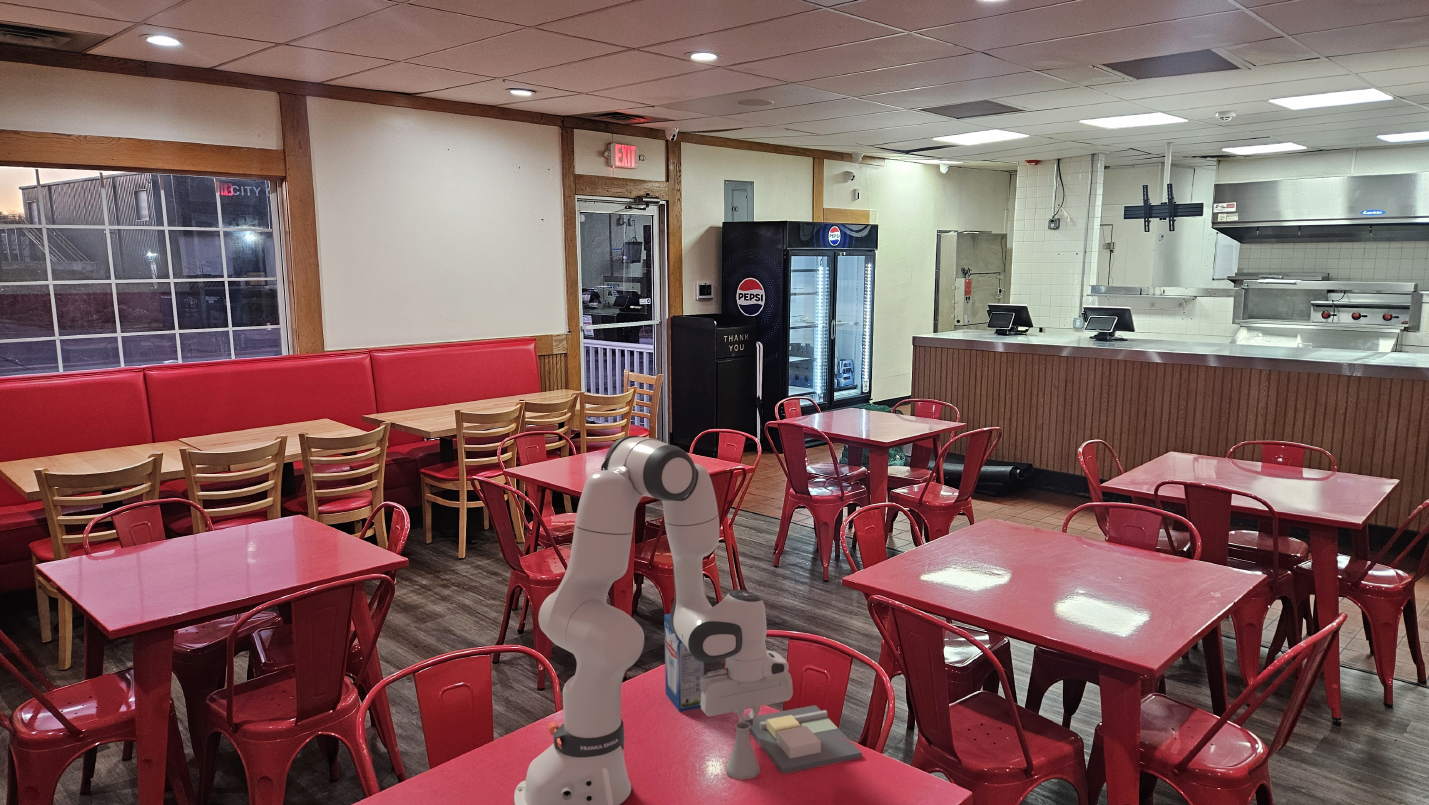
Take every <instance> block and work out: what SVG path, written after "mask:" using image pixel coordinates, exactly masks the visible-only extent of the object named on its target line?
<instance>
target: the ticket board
mask: <svg viewBox="0 0 1429 805" xmlns="http://www.w3.org/2000/svg"><path fill="white" fill-rule="evenodd" d="M788 715H792V716H793V717H794V718H795V719H796V720H797V721H798V722H799V724H800V725H801V727H797V728H792V729H787V730H782V731H777V737H776V739H775V738H774V737H773V735H772V734H771V733H770V732H769V730H768V729H767V719H772V718H777V717H783V716H788ZM749 734H751V736H752V737H753V738H754V740H756V742H757V744H759V746H760V747H761V749H762V750H763V751H764V752H765V754H766V755H767V756H768V758H769V759H770V760H771V762H772V763H773V764H774V765H775V767H776V768H777V769H778V770H779V772H780V773H781V775H785V774H791V773H795V772H800V771H803V770H804V771H806V770H811V769H814V768H819V767H820V768H821V767H824V766H829V765H834V764H838V763H839V764H840V763H843V762H848V761H852V760H858V759H862V757H863V756H862V754H863V753H862V751H861V750H860V749H859V748H858V747H857V746H856V745H855V744H854V742H852V743H850V741H851V740H850V739H849V738H848V737H847V736H846V734H845V733H844V732H843V731H842V730H840V729H839V727H837V725H835V723H834V722H833V721H832V720H831V719H830V718H829V717H828V711H827V710H826V709H824V710H821V708H819V707H818V706H817V705H815V704H814V705H810V706H804V707H798V708H792V709H787V710H782V711H777V712H771V713H770V712H769V713H765V714H760V715H757V717H756V718H755V725H754V726H751V728H750V729H749ZM839 737H840V738H841V739H840V738H839ZM843 739H845V740H843ZM847 740H848V741H847Z"/></svg>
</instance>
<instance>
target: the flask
mask: <svg viewBox="0 0 1429 805" xmlns="http://www.w3.org/2000/svg"><path fill="white" fill-rule="evenodd" d="M734 727H735V730H736V732H735V733H736V734H735V740H734V744H733V747H732V749H731V752H730V755H729V757H728V760H727V763H726V765H725V771H726V776H728V777H732V778H733V779H737V780H749V779H755V778H756V777H757V776H758V775H759V774H760V773H761V772H762V771H761V769H760V768H761V767H760V766H759V762H758V759H757V756H756V754H755V752H754V748H753V746H752V742H751V736H750V732H749V729H750V728H751V726H750V723H748V722H745V721H741V722H740V721H737V722H735V724H734Z"/></svg>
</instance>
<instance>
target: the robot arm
mask: <svg viewBox="0 0 1429 805" xmlns="http://www.w3.org/2000/svg"><path fill="white" fill-rule="evenodd" d="M600 466H601V467H600V470H598V471H596V472H594V473H592V474H590V475H589V477H587V478H586V481H585V483H584V485H583V489H582V492H581V494H580V498H579V502H578V505H577V510H576V515H575V522H574V528H573V536H572V542H571V548H570V553H569V554H570V555H569V560H568V564H567V567H566V571H565V573H564V576H563V578H562V580H561V582H560V584H559V586H558V587H557V589H556V590H555V591H554V592H552V593H550V594H549V595H548V596H547V597H546V598H545V599H544V601H543V602H542V604H541V606H540V607H539V611H538V625H539V628H540V629H541V632H543V633H544V634H545V636H546V637H547V638H548V639H549V640H550V641H551V642H552V643H554V644H555V645H556V646H558V647H560V648H561V649H563V650H566V651H567V652H569V653H571V654H573V656H574V658H575V660H576V669H575V674H574V675H573V676H571V677H570V678H569V679H568V680H567V681H566V683H565V684H564V686H563V689H562V706H563V707H562V708H563V723H561V725H560V726H559V724H558V723H557V721H551V722H550V723H549V724H548V725H547V726H548V727H547V728H548V731H549V734H550V735H551V736H553V743H552V744H551V745H550V746H549V747H548V748H546V749H545V750H544V751H543V752H541V753H540V754H539V755H538V756H536V757H535V758H533V760H532V761H531V762H530V764H529V765H528V768H527V771H526V777H525V780H523V781H520V782H519V783H518V785H516V787H515V790H514V795H513V796H514V797H513V805H621V804H623V803H624V802H625V801H626V800H627V799H628V798H629V797H630V794H631V791H632V784H631V781H630V779H629V776H628V771H627V766H626V762H625V756H624V749H625V739H626V738H625V725H624V721H623V719H622V695H621V694H622V684H623V680H624V677H625V673H626V671H627V670H628V669H630V668H631V667H632V666H633V665H634V664H635V663H636V662H637V661H638V660H639V658H640V656H641V655H642V652H643V649H644V646H645V633H644V630H643V627H642V626H641V625H640V624H639V623H638V622H637V621H636V620H635V619H634V618H633V617H632V616H630V615H629V614H628V613H626V612H625V611H624V610H622V609H619V608H617V607H616V606H615V607H614V606H613V605H610V604H608V603H607V597H608V593H609V590H610V589H611V587H612V585H613V583H614V582H616V581H617V580H619V579H621V578H623V577H624V575H625V574H626V573H627V570H628V568H629V560H630V559H629V558H630V554H631V552H630V551H631V545H632V537H633V528H634V521H635V512H636V508H637V507H638V504H639V502H641V500H642V499H643V497H648V498H653V499H656V500H659V501H661V503H662V506H663V508H662V509H663V517H664V526H665V532H666V537H667V540H668V541H667V542H668V544H669V545H668V546H669V549H670V554H671V557H672V558H671V559H672V571H673V572H672V573H673V584H674V585H673V586H674V600H673V603H672V607H671V610H670V613H669V614H670V626H671V629H672V631H673V633H674V634H675V635H676V636H677V637H678V638H679V639H680V640H681V641H682V643H683V644H684V645H685V647H686V648H687V649H688V651H689V652H690V653H691V654H692V656H693V657H694V658H695V659H697V660H699V661H701V662H704V663H713V662H714V663H715V662H717V661H722V660H725V668H722V669H718V670H715V671H707V672H706V674H704V676H703V677H702V678H701V681H700V683H701V691H702V692H701V708H700V709H701V711H702V712H703V713H704V714H705V715H706V716H707V717H708V718H709V717H714V716H718V715H720V716H721V715H724V714H729V713H735V714H736V715H737V716H738V717H739V722H741V721H745V722H748V723H750V726H754V725H755V718H756V717H757V716H759V715H758V714H759V713H760V710H761V707H762V706H763V707H764V706H767V705H768V706H769V705H772V704H777V703H782V702H786V701H787V702H788V701H790V700H791V698H792V696H793V694H794V689H793V688H794V687H793V679H792V675H791V674H790V672H789V668H790V666H789V663H788V661H787V660H786V659H785V658H784V657H783V656H782V655H781V654H779V653H778V652H777V651H774V650H767V645H766V636H767V630H768V629H767V616H766V615H767V614H766V607H765V603H764V601H763V599H762V598H761V597H760V596H759V595H757V593H754V592H752V591H749V590H746V589H745V590H743V589H733V590H731V591H729V592H728V593H727V595H726V596H725V597H724V598H723V599H722V600H721V601H719V603H717V604H716V605H714V606H713V605H712V604H711V603H710V601H709V600H708V598H707V596H706V593H705V587H704V585H705V584H704V573H703V559H704V557H707V556H709V555H710V554H711V553H713V552H714V551H715V549H716V548H717V547H718V545H719V542H720V541H719V540H720V518H719V508H718V503H717V497H716V492H715V489H714V485H713V481H712V478H711V476H710V474H709V471H708V470H707V469H706V468H705V466H704V465H701V464H698V463H695V462H694V461H693V459H692V457H691V456H690V455H689V454H688V453H687V452H686V451H685V450H683V449H682V448H681V447H679V446H677V445H674V444H669V443H666V442H663V441H661V440H660V439H657V438H652V437H642V436H640V435H628V436H627V435H626V436H623V437H620V438H619V439H617V440H615V441H614V442H613V443H612V444H611V445H610V447H609V449H608V451H607V452H606V455H605V458H604V461H603V462H602V464H601V465H600ZM749 709H751V710H750V712H749V714H748V715H744V716H743V714H745V710H749Z"/></svg>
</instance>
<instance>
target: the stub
mask: <svg viewBox="0 0 1429 805" xmlns="http://www.w3.org/2000/svg"><path fill="white" fill-rule="evenodd" d="M797 727H801V725H800V724H799V722H798V721H797V720H796V719H795V718H794V717H793V716H792V715H788V716H783V717H777V718H772V719H767V729H768V730H769V732H770V733H771V734H772V735H773V737H774V738H775V739H776V737H777V731H782V730H787V729H792V728H797Z"/></svg>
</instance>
